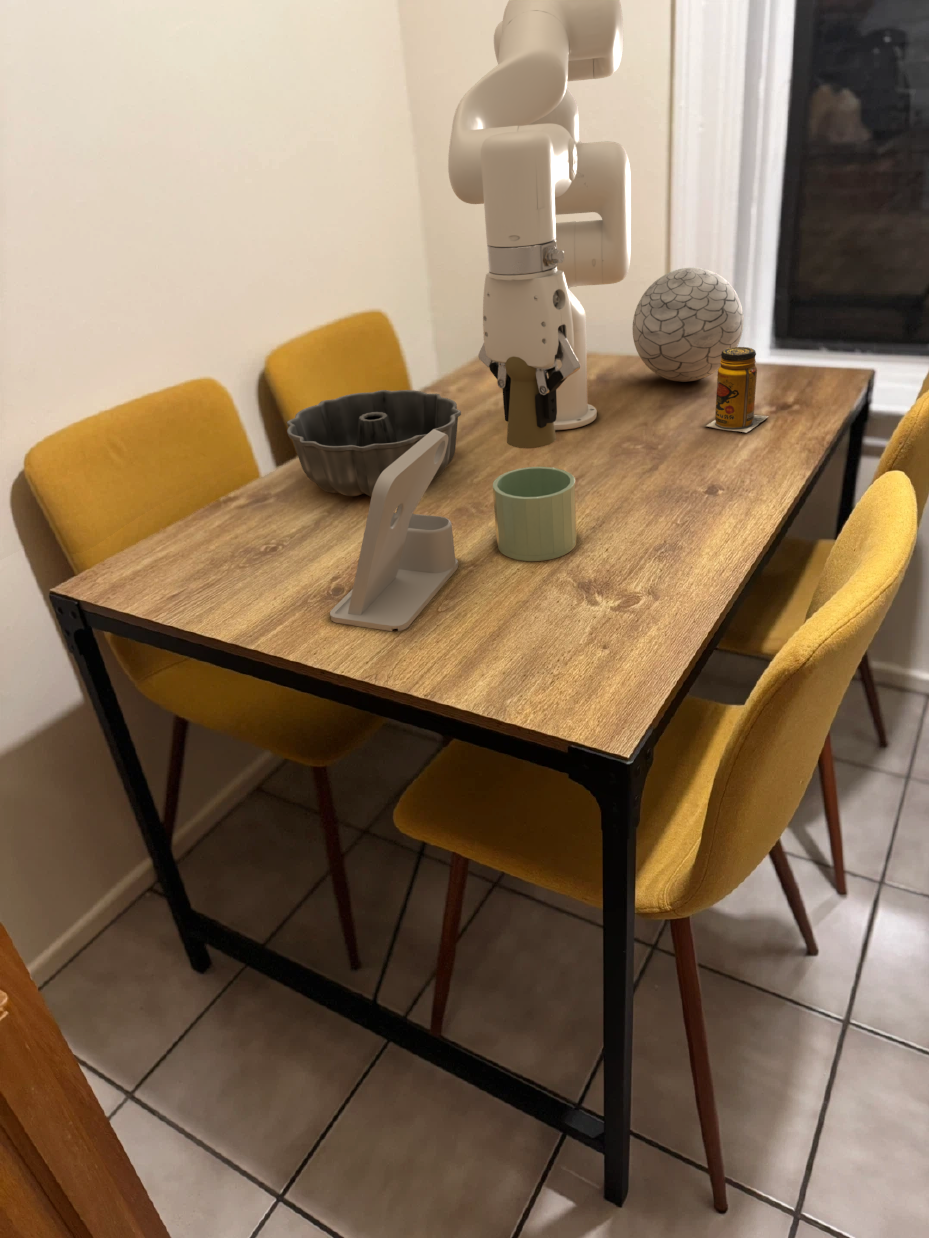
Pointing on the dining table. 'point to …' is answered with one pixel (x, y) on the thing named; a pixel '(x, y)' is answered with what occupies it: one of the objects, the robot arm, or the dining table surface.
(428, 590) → the phone holder
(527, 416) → the brown game pawn
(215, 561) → the dining table surface
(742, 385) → the condiment
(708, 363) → the decorative sphere
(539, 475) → the cup
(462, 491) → the dining table surface
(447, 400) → the bundt pan
